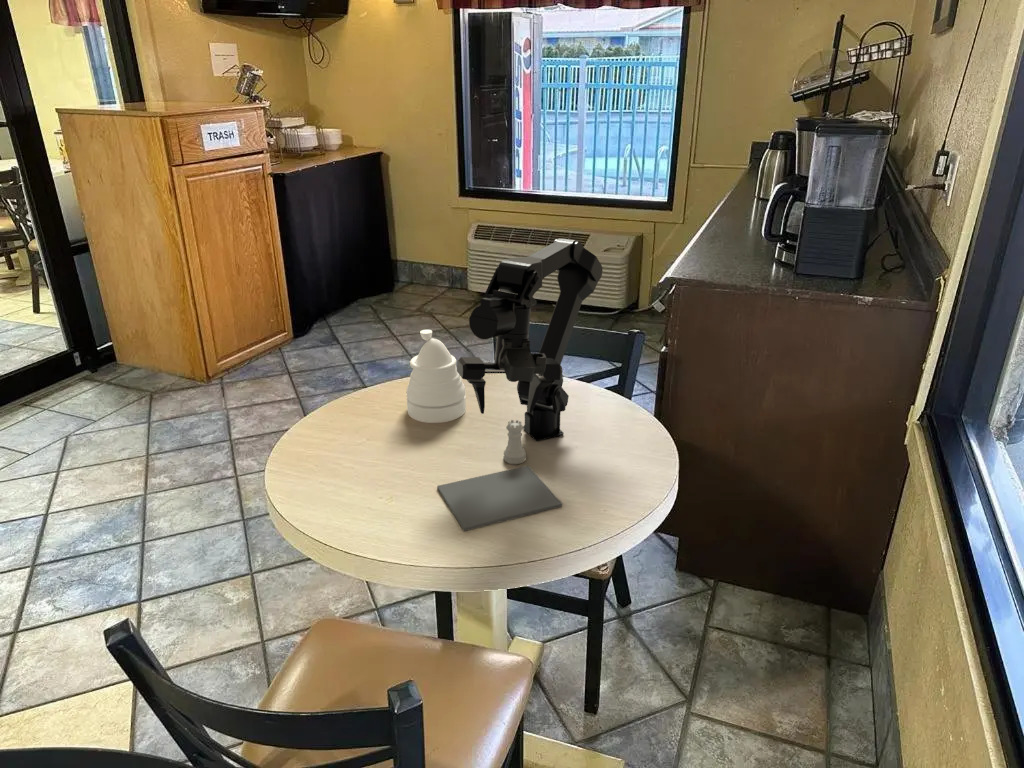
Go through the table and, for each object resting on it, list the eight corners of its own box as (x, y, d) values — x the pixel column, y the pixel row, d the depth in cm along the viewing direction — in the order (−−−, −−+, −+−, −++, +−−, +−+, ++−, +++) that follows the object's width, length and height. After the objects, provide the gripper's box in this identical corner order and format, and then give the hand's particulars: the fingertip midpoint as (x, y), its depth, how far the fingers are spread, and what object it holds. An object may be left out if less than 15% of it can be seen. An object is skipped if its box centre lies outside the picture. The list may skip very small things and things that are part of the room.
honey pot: (395, 413, 157) (389, 336, 150) (433, 392, 167) (430, 319, 159) (440, 428, 150) (436, 348, 143) (477, 406, 160) (475, 330, 153)
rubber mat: (528, 468, 136) (528, 465, 135) (561, 506, 124) (562, 503, 124) (437, 488, 129) (437, 485, 129) (464, 531, 117) (463, 528, 117)
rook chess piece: (518, 467, 136) (518, 430, 132) (498, 461, 138) (498, 424, 135) (530, 457, 139) (530, 421, 136) (511, 451, 141) (511, 415, 138)
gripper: (472, 340, 119) (466, 428, 123) (577, 342, 124) (567, 427, 129) (459, 326, 129) (453, 407, 134) (556, 328, 134) (548, 407, 139)
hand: (506, 412), depth 133 cm, fingers open, 9 cm apart
